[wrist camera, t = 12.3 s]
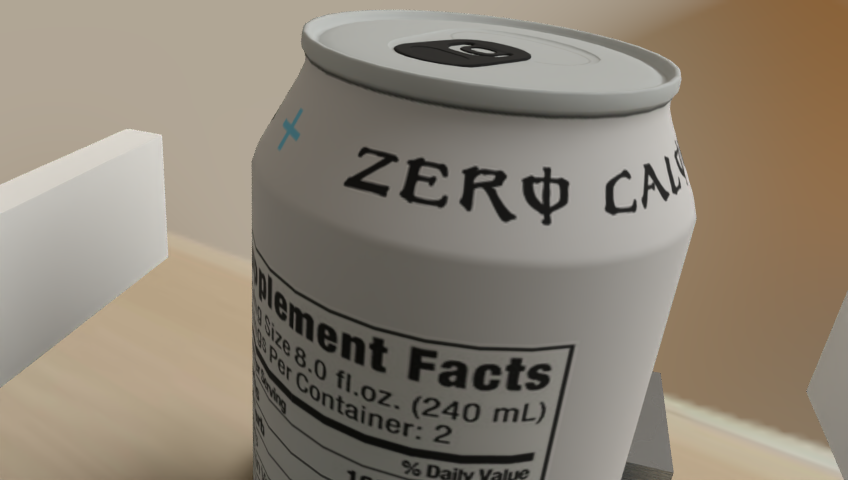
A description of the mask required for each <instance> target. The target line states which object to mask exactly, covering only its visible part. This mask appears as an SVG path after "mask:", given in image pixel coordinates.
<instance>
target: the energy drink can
mask: <svg viewBox="0 0 848 480" xmlns="http://www.w3.org/2000/svg"><path fill="white" fill-rule="evenodd" d="M301 44H302V48H303V50H304V52H305V56H306V59H305V63H304V65H303V67H302V69H301V71H300V73H299V75H298V77H297V79H296V81H295V82H294V84H293V85H292V87H291V89H290V90H289V92H288V94H287V96H286V97H285V99H284V101H283V102H282V104H281V105H280V107H279V109H278V111H277V112H276V114H275V115H274V117H273V119H272V120H271V122H270V124H269V125H268V127H267V129H266V130H265V132H264V134H263V135H262V137H261V139H260V141H259V143H258V145H257V147H256V150H255V153H254V156H253V160H252V346H253V480H621V478H622V474H623V471H624V467H625V464H626V460H627V457H628V453H629V450H630V447H631V443H632V440H633V436H634V433H635V429H636V426H637V422H638V419H639V415H640V412H641V409H642V405H643V402H644V398H645V395H646V391H647V388H648V384H649V381H650V378H651V374H652V370H653V367H654V364H655V360H656V357H657V353H658V350H659V346H660V343H661V340H662V336H663V332H664V329H665V325H666V322H667V319H668V315H669V312H670V308H671V305H672V302H673V298H674V294H675V291H676V288H677V284H678V280H679V277H680V274H681V270H682V267H683V264H684V260H685V257H686V253H687V250H688V246H689V243H690V239H691V236H692V232H693V229H694V225H695V222H696V212H695V204H694V198H693V193H692V190H691V186H690V183H689V179H688V175H687V172H686V168H685V165H684V162H683V158H682V155H681V152H680V148H679V145H678V141H677V138H676V134H675V131H674V127H673V123H672V119H671V114H670V102H671V100H672V98H673V97H674V96H675V94H677V92H678V90H679V87H680V83H681V73H680V69H679V68H678V67H677V66H676V65H675V64H674V63H673V62H672V61H670V60H668V59H666V58H665V57H663V56H661V55H659V54H657V53H654V52H652V51H649V50H647V49H644V48H642V47H639V46H636V45H632V44H629V43H626V42H623V41H620V40H616V39H612V38H608V37H605V36H600V35H596V34H592V33H588V32H583V31H578V30H574V29H569V28H564V27H559V26H553V25H548V24H542V23H536V22H529V21H523V20H516V19H510V18H502V17H493V16H485V15H476V14H465V13H453V12H439V11H421V10H365V11H349V12H341V13H334V14H328V15H324V16H321V17H317V18H314V19H312V20H311V21H309V22H307V23H306V24H305V25H304V27H303V31H302V39H301Z"/></svg>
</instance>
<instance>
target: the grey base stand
mask: <svg viewBox="0 0 848 480" xmlns="http://www.w3.org/2000/svg"><path fill="white" fill-rule="evenodd" d="M673 473H674V472H673V465H672V457H671V450H670V442H669V434H668V427H667V419H666V411H665V404H664V396H663V388H662V381H661V373H657V372H653V371H652V374H651V378H650V381H649V384H648V388H647V391H646V395H645V398H644V402H643V405H642V409H641V412H640V415H639V419H638V422H637V426H636V429H635V433H634V436H633V440H632V443H631V447H630V450H629V453H628V457H627V460H626V464H625V467H624V471H623V474H622V478H621V480H671V479H672V476H673Z"/></svg>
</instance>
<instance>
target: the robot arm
mask: <svg viewBox="0 0 848 480" xmlns="http://www.w3.org/2000/svg"><path fill="white" fill-rule="evenodd" d="M166 258H168V243H167V225H166V206H165V186H164V168H163V148H162V135H160V134H155V133H149V132H144V131H138V130H133V129H125V130H123V131H120V132H118V133H116V134H114V135H112V136H109V137H107V138H105V139H102V140H100V141H98V142H96V143H93V144H92V145H89V146H86V147H85V148H82V149H80V150H77V151H75V152H73V153H71V154H68V155H66V156H64V157H62V158H59V159H57V160H55V161H53V162H50V163H48V164H46V165H43V166H41V167H39V168H37V169H34V170H32V171H30V172H28V173H25V174H23V175H21V176H19V177H16V178H14V179H12V180H9V181H7V182H5V183H3V184H0V388H1V387H2V386H3V385H5V384H6V383H7V382H8V381H10V380H11V379H12V378H14V377H15V376H16V375H17V374H19V373H20V372H21V371H23V370H24V369H25V368H26V367H28V366H29V365H30V364H32V363H33V362H34V361H35V360H37V359H38V358H39V357H41V356H42V355H43V354H44V353H46V352H47V351H48V350H50V349H51V348H52V347H53V346H55V345H56V344H57V343H58V342H60V341H61V340H62V339H64V338H65V337H66V336H67V335H69V334H70V333H71V332H73V331H74V330H75V329H76V328H78V327H79V326H80V325H82V324H83V323H84V322H85V321H87V320H88V319H89V318H91V317H92V316H93V315H94V314H96V313H97V312H98V311H100V310H101V309H102V308H103V307H105V306H106V305H107V304H109V303H110V302H111V301H112V300H114V299H115V298H116V297H118V296H119V295H120V294H121V293H123V292H124V291H125V290H127V289H128V288H129V287H130V286H132V285H133V284H134V283H136V282H137V281H138V280H139V279H141V278H142V277H143V276H145V275H146V274H147V273H148V272H150V271H151V270H152V269H154V268H155V267H156V266H157V265H159V264H160V263H161V262H163V261H164V260H165V259H166ZM806 392H807V394H808V397H809V399H810V401H811V404H812V406H813V408H814V411H815V413H816V415H817V418H818V420H819V422H820V424H821V427H822V429H823V431H824V434H825V436H826V438H827V441H828V443H829V445H830V448H831V450H832V452H833V455H834V457H835V459H836V462H837V464H838V466H839V469H840V471H841V473H842V476H843V478H844V480H848V291H847V294H846V296H845V299H844V301H843V304H842V306H841V308H840V311H839V313H838V316H837V318H836V321H835V323H834V326H833V328H832V330H831V333H830V335H829V338H828V340H827V342H826V345H825V347H824V350H823V352H822V355H821V357H820V360H819V362H818V364H817V367H816V369H815V372H814V374H813V376H812V379H811V381H810V384H809V386H808V389H807V391H806Z"/></svg>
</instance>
